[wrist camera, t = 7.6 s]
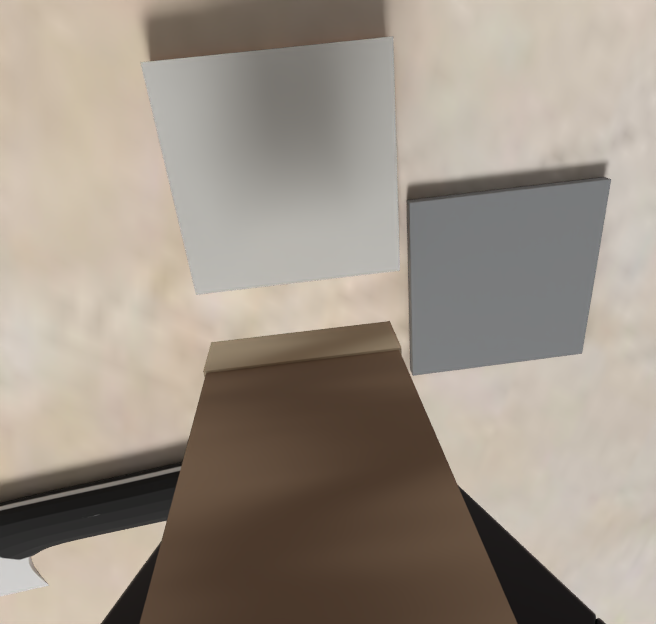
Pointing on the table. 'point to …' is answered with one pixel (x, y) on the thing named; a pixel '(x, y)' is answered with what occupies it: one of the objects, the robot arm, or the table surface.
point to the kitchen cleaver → (78, 518)
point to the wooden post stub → (318, 495)
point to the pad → (502, 273)
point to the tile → (281, 161)
